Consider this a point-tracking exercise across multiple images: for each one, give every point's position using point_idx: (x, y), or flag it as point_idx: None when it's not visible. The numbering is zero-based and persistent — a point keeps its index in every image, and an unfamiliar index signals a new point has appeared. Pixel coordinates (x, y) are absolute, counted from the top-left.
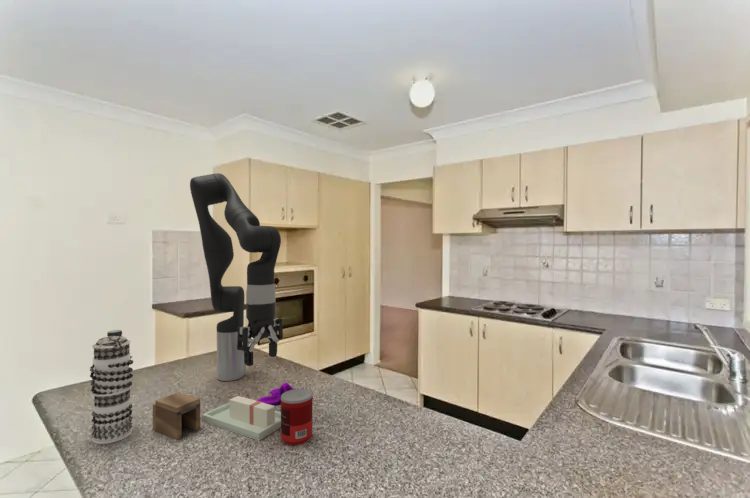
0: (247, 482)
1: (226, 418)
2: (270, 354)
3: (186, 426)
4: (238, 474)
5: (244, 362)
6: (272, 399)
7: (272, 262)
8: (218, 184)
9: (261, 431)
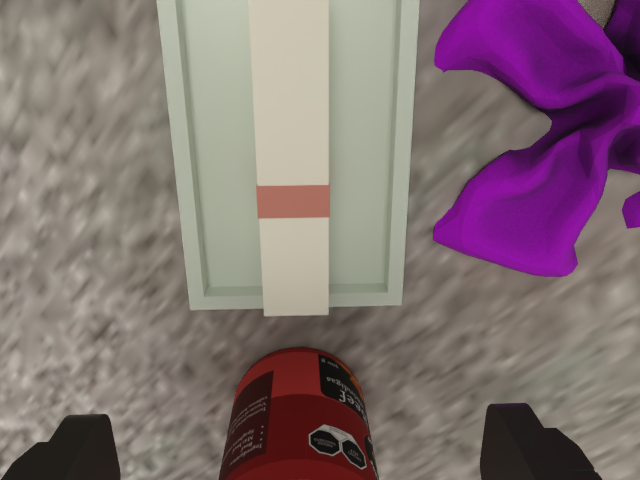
0: (5, 442)
1: None
2: (495, 436)
3: None
4: (8, 393)
5: (20, 458)
6: (557, 45)
7: None
8: None
9: (209, 306)
